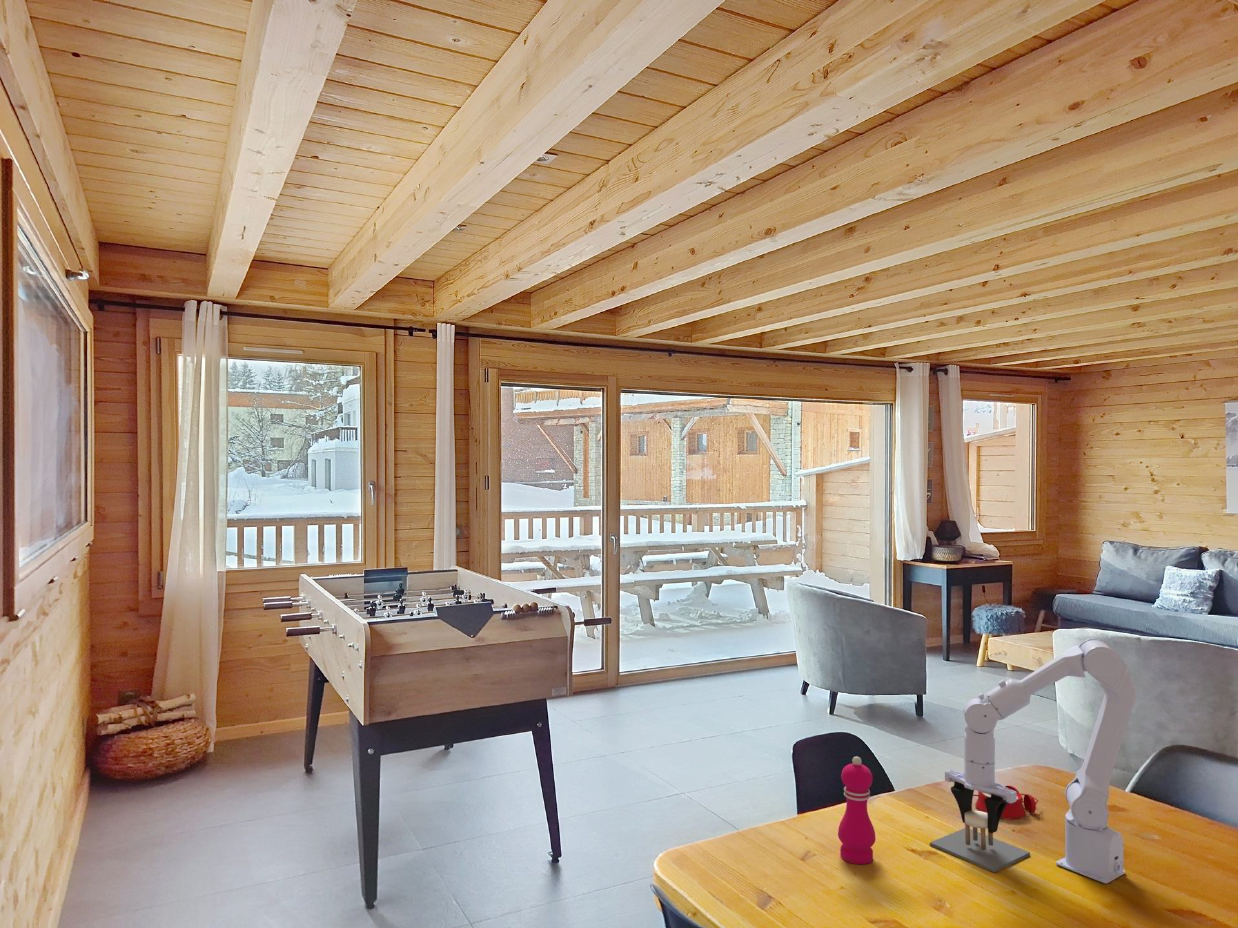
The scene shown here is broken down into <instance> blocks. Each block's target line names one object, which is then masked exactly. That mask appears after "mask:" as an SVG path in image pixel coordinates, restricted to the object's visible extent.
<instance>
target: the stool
mask: <svg viewBox="0 0 1238 928" xmlns="http://www.w3.org/2000/svg"><path fill="white" fill-rule="evenodd" d="M964 828H965V840H966V845H970V829H971V828H972V830H973V840H975V841H978V829H979V831H980V833H981V849H982V850H986V835H987V836H988V844H989V845H991V846H993V838H994V833H989V832H988V831H987V834H986V829H988V815H987V813H985V812H982V811H979V810H972V811H967V812H965V823H964Z"/></svg>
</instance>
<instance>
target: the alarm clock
mask: <svg viewBox="0 0 1238 928" xmlns="http://www.w3.org/2000/svg"><path fill="white" fill-rule="evenodd" d="M1003 786H1004V787H1006V788H1008V789H1010V790H1013V791H1016V802H1014V803H1008V804H1007V806H1006V807H1005V809H1004V811H1003V813H1002V815H1001V818H1000V819H1006V820H1016V819H1017V820H1018V819H1022V818H1024V817H1025V816H1026V812H1027V811H1028V812H1030V813H1029V815H1034V814H1035V813H1036V810H1037V804H1038V803H1039V799H1037V798H1036V797H1034V796H1032V795H1031V794H1029V793H1027V794H1026V793H1021V792H1019V790H1018V789H1017V788H1016V787H1015V786H1013V785H1003ZM977 793H978V794H973V797H977V800H976V801H975V805H974V806H975V808H976V809H977V811H982V812H985V813H987V809H986V805H985V801H984V799H986V798H988V797H991V795H989V794H986V793H983V792H980V791H977Z"/></svg>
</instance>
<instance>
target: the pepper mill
mask: <svg viewBox="0 0 1238 928" xmlns="http://www.w3.org/2000/svg"><path fill="white" fill-rule="evenodd" d="M851 761H852V763H849V764H847V765H845V766H844V767H843V768H842V771H841V775H840V776H841V782H842V783H843V785H844V787H843V791H844V792H843V796H844V797H845V799H846V807H845V812H844V814H843V816H842V818H841V820H840V822H839V824H838V825H839V826H838V828H837V829H838V831H837V837H838V839H839V841H840V842H841V843H842V844H841V845H840V847H839V849H840V851H839V853H840V857H841V858H842V860H844V861H846V862H847V863H851V864H855V865H867V864H870V863H872V861H873V860H874V850H873V848H872V847H873V846H874V844H875V843H876V832H875V831H876V830H875V828H874V825H873V823H872V820H871V819H870V815H869V812H868V800H869V799H870V798H871V795H870V794H871V791H870V789H869V788H871V786H872V784H873V780H874V779H873V774H872V772H871V770H870V768H868V767H867V766H866V765H864V764H862V759H861V757H859V756H853V758H852V760H851Z"/></svg>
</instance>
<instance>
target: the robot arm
mask: <svg viewBox="0 0 1238 928" xmlns="http://www.w3.org/2000/svg"><path fill="white" fill-rule="evenodd" d="M1085 672H1086V673H1088V674H1089V676H1091V677H1092V678H1093V679H1095V680H1096V681H1097V682H1098V684H1099V686H1100V687H1101V688H1102V689H1103V692H1104V695H1103V698H1102V701H1101V702H1102V703H1101V705H1100V708H1099V712H1098V714H1097V718H1096V720H1095V724H1094V727H1093V730H1092V734H1091V736H1090V739H1089V742H1088V745H1087V749H1086V752H1085V755H1084V758H1083V761H1082V764H1081V767H1080V768H1079V769H1078V770H1077V771H1076V774H1075V777H1074V779H1072V781H1071V782H1069V783H1068V784H1067V785H1066V788H1065V790H1064V796H1065V799H1066V802H1067V803H1068V805H1069V810H1067V812H1066V813H1065V814H1064V815H1065V816H1064V817H1065V821H1064V823H1065V825H1064V827H1065V829H1064V830H1065V832H1064V834H1065V835H1064V836H1065V838H1064V839H1065V843H1064V844H1065V845H1064V846H1065V847H1064V848H1065V850H1064V851H1065V857H1062V858H1061V859H1059V860H1057V861H1056V862H1055V864H1056V865H1057V866H1059V867H1061V868H1065V869H1067V870H1070V871H1072V872H1075V873H1077V874H1080V875H1083V876H1085V877H1088V878H1090V879H1093V880H1095V881H1098V882H1101V883H1102V884H1109V883H1111V882H1112V881H1114V880H1115V879H1117V878H1119V877H1120V876H1122V875H1124V874H1125V873H1126V870H1125V869H1124V867H1125V866H1124V865H1125V864H1124V863H1125V862H1124V855H1125V854H1124V846H1125V845H1124V838H1123V835H1122V833H1120V832H1119V831H1116V830H1115V829H1113V828H1111V827H1110V826H1109V824H1108V823H1109V822H1108V821H1109V815H1110V812H1109V808H1108V800H1109V797H1110V779H1111V777H1112V774H1113V771H1114V768H1115V764H1116V762H1117V758H1118V755H1119V752H1120V748H1121V745H1122V742H1123V739H1124V736H1125V733H1126V730H1127V726H1128V724H1129V721H1130V717H1131V714H1132V712H1133V709H1134V705H1135V701H1136V699H1137V691H1136V689H1135V686H1134V684H1133V680H1132V678H1131V675H1130V673H1129V668H1128V665H1127V664H1126V662H1125V661H1124V660H1123V659H1122V658H1121V656H1120V655H1119V654H1118V653H1117V652H1116V651H1115V650H1114V649H1113V648H1112V647H1111V646H1110V645H1109V644H1108V643H1107V642H1105V641H1104V640H1102V639H1099V638H1088V639H1086V640H1084V641H1082V642H1081V643H1080V644H1079V645H1077V644H1076V645H1073V646H1071V647H1069V648H1068V649H1067V650H1065V651H1063V652H1061V653H1060V654H1058V655H1057V656H1055V657H1054V658H1052V659H1051V660H1049V661H1048V662H1047V663H1045V664H1043V665H1042V666H1041V667H1038V668H1037V669H1035V670H1034V671H1033V672H1031V673H1029V674H1028V675H1027V676H1025V677H1023V678H1022V679H1021V680H1018V679H1013V678H1009V679H1007V680H1005V679H1003V678H1002V679H1001V680H998V682H997V683H998V685H997V686H996V687H994V688H993V689H991V690H989V691H987V692H986V693H983V692H980V693H979V694H978V695H977V696H978V697H977V698H971V699H969V700H968V701H967V702H965V703H966V704H965V705H964V709H963V715H964V721H965V726H964V732H965V733H964V739H963V743H964V744H963V745H964V747H963V749H964V756H963V758H964V760H963V761H964V763H963V764H964V769H963V770H964V772H960V771H955V770H951V769H949V770H945V771H944V781H945V782H947V783H950V782H951V783H953V786H951V787H950V792H951V793H952V795H953V797H954V799H955V801H956V803H957V806H958V809H959V812H960V815H961V816H960V817H961V820H962V823H963V824H965V812H967V811H973V798H974V796H973V795H974V794H975V793H974V792H975V791H977V792H978V791H980V792H983V793H986V794H989V795H991V797H988V798H986V799H984V801H985V805H986V809H987V815H988V828H987V833H988V832H989V833H993V834H994V833H996V832H998V828H999V823H1000V821H1001V819H1002V818H1001V815H1002V813H1003V811H1004V809H1005V807H1006V806H1007V804H1008V803H1014V802H1016V791H1013V790H1010V789H1008V788H1006V787H1004V786H1005V785H1002V784H1000V783H998V782H997V781H996V750H995V749H996V739H995V737H994V729H995V728H996V727H997V722H998V721H1003V720H1004V719H1006V718H1008V717H1009V716H1011V715H1014V714H1015V713H1016V712H1018V711H1020V710H1022V709H1023V708H1025V707H1027V706H1029V704H1030V702H1031V697H1032V695H1033V694H1036V693H1038V692H1039V691H1041V690H1044V689H1045V688H1047V687H1049V686H1051V685H1053V684H1055V683H1057V682H1058V681H1061V680H1062V679H1064V678H1067V677H1074V678H1087V676H1086V674H1085Z"/></svg>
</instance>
